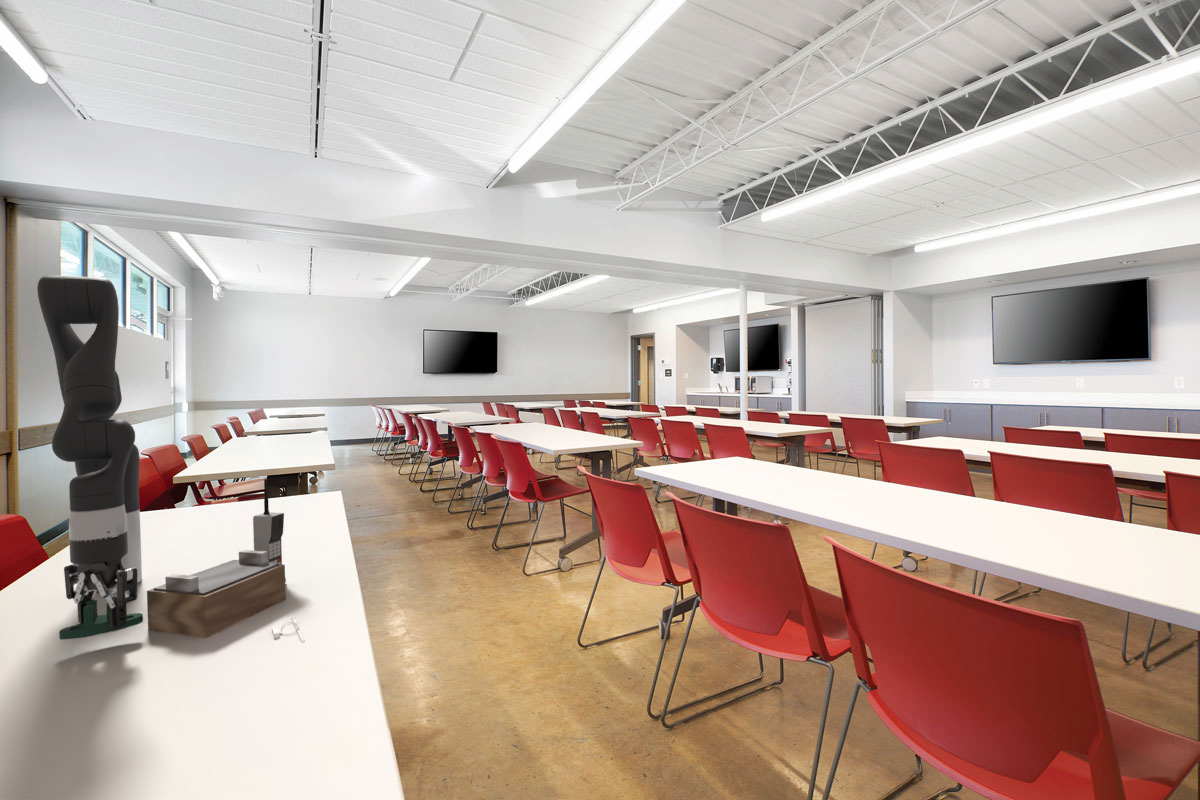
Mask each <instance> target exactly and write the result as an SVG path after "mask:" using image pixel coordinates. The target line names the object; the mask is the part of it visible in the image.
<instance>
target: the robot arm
mask: <svg viewBox="0 0 1200 800" xmlns="http://www.w3.org/2000/svg"><path fill="white" fill-rule="evenodd" d="M36 287H37V288H36V289H37V298H38V302H39V306H40V310H41V313H42V318H43V320H44V323H45V327H46V330H47V333H48V336H49V338H50V342H51V345H52V349H53V353H54V354H53V355H54V359H55V364H56V370H57V375H58V376H57V377H58V383H59V387H60V392H61V393H60V394H61V396H62V401H63V410H62V414H61V417H60V419H59V421H58V424H57V427H56V429H55V431H54V434H53V437H52V440H51V448H52V451H53V453H54V455H55V456H56V458H58V459H60V460H61V461H63V462H68V463H69V462H70V463H74V467H75V472H76V476H75V477H72V479H71V480H70V482H69V486H68V489H69V510H70V511H69V519H68V541H69V544H68V545H69V560H70V563H71V564H69V565H67V566H64V567H63V575H64V584H65V585H64V586H65V594H66V595H65V596H66V598H67V599H68V600H71V599H72V600H73V601H74V604H76V605H77V619H78V620H77V621H78V624H80V623H84V619H83V609H84V606H86V603H87V601H93V600H95V599H94V598H95V597H96V594H97V592H98V593H99V595H100V597H101V598H105V600H106V603H107V602H108V604H109V606H110V608H109V622H110V628H114V629H115V628H118V627H120V626H123V625H125V624H126V620H127V614H128V613H127V611H128V610H127V604H129V603H131V602H134V601H136V600H137V599H138V583H140V582H141V581H142V580H143V572H142V570H143V568H142V566H143V565H142V561H143V560H142V541H141V539H142V537H141V511H140V488H139V487H140V485H139V484H140V465H141V464H140V463H141V462H140V459H141V458H140V451H139V448H138V447H137V445H136V444H135V441H136V431H135V429H134V427H133V426H132V424H131V423H130V422H129V421H127V420H124V419H120V418H119V419H117V418H115V419H112V417H113V416H114V415H115V413H116V412H117V411H118V409H119V407H120V406H121V403H122V391H121V385H120V378H119V375H118V373H117V372H118V371H116V356H117V348H118V347H117V346H118V338H119V337H118V336H119V335H118V334H119V319H120V318H119V316H120V315H119V313H120V312H119V311H120V308H119V299H118V294H117V290H116V287H115V285H114V284H113V282H112V281H111V280H110V279H109V278H105V277H96V276H82V275H81V276H77V275H44V276H42V277H41V278H39V280H38V283H37V286H36ZM71 325H95V326H96V327H95V329H94V331H93V333H92V334H91V336H90V337H89V338H88V339H87V341H86V342H85V343H84V342H83V341H82V340H81V339H80V337H79V336H78V335H77V333H76V332H75V331H74V329H73V328H72V326H71ZM75 585H76V586H75ZM74 586H75V588H74ZM127 592H128V593H127ZM115 594H116V596H117V600H115Z"/></svg>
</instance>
